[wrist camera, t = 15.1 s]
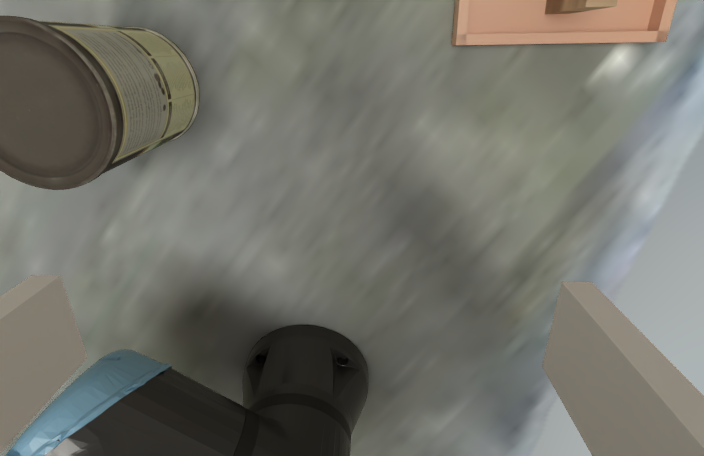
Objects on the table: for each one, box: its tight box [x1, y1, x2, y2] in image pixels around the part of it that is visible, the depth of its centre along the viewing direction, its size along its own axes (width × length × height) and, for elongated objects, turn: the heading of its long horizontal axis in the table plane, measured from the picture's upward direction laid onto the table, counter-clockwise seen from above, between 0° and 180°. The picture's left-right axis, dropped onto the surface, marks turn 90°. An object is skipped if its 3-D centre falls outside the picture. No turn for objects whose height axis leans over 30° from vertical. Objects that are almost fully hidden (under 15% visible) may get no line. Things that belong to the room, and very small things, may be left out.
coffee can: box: [0, 16, 199, 190], centre depth 31 cm, size 10×10×14 cm
